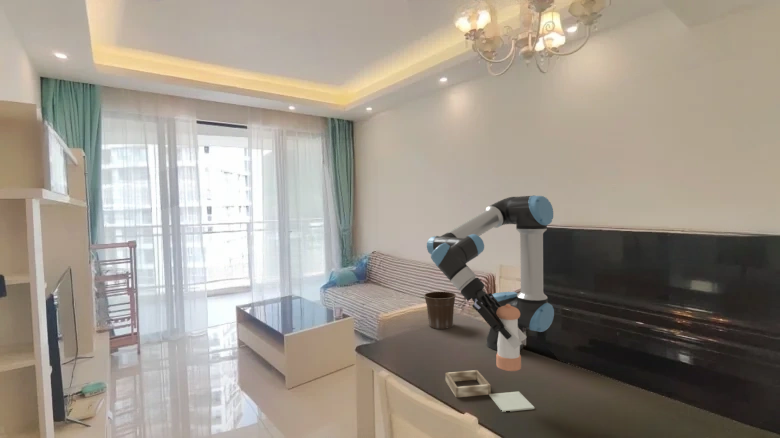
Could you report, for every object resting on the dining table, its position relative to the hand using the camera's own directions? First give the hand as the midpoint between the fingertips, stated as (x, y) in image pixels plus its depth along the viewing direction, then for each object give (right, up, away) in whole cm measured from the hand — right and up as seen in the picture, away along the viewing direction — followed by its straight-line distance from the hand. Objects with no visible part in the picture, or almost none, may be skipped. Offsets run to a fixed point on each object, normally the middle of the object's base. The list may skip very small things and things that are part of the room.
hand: (520, 342), depth 113 cm
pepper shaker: (-3, -8, +2) cm, 9 cm away
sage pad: (-2, -19, +3) cm, 20 cm away
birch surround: (-14, -19, +13) cm, 27 cm away
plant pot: (-13, -18, +80) cm, 83 cm away
